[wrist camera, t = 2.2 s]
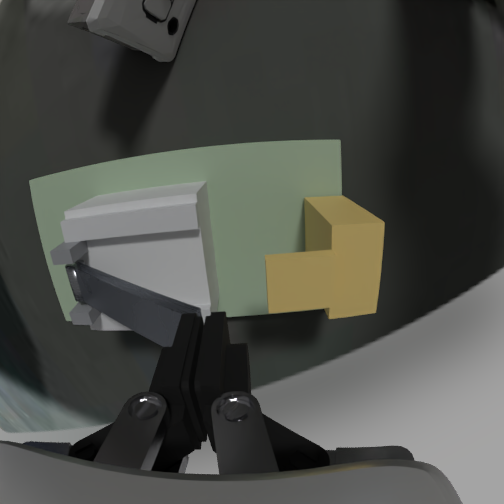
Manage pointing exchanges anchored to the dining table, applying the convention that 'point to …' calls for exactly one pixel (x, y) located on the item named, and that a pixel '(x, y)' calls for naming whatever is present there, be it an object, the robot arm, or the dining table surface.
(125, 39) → the electrical switch
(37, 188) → the board
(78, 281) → the lever
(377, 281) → the clip
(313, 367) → the dining table surface
